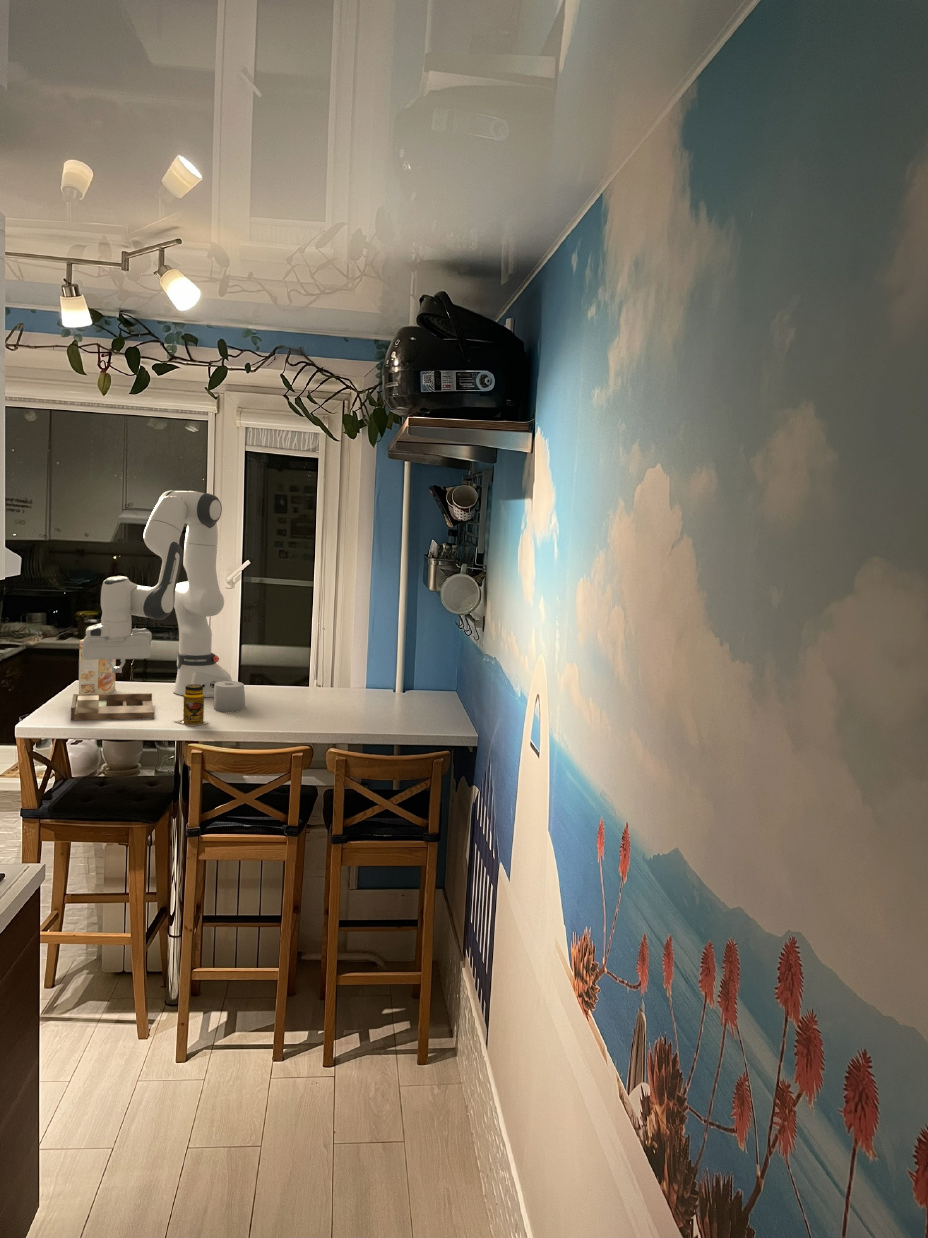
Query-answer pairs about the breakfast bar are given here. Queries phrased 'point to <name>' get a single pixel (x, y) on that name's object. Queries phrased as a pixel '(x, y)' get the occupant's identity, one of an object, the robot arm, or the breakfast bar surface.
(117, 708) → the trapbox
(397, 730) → the breakfast bar surface
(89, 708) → the block
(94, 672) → the coffeecake box
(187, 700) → the condiment
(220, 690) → the toilet tissue
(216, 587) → the robot arm
